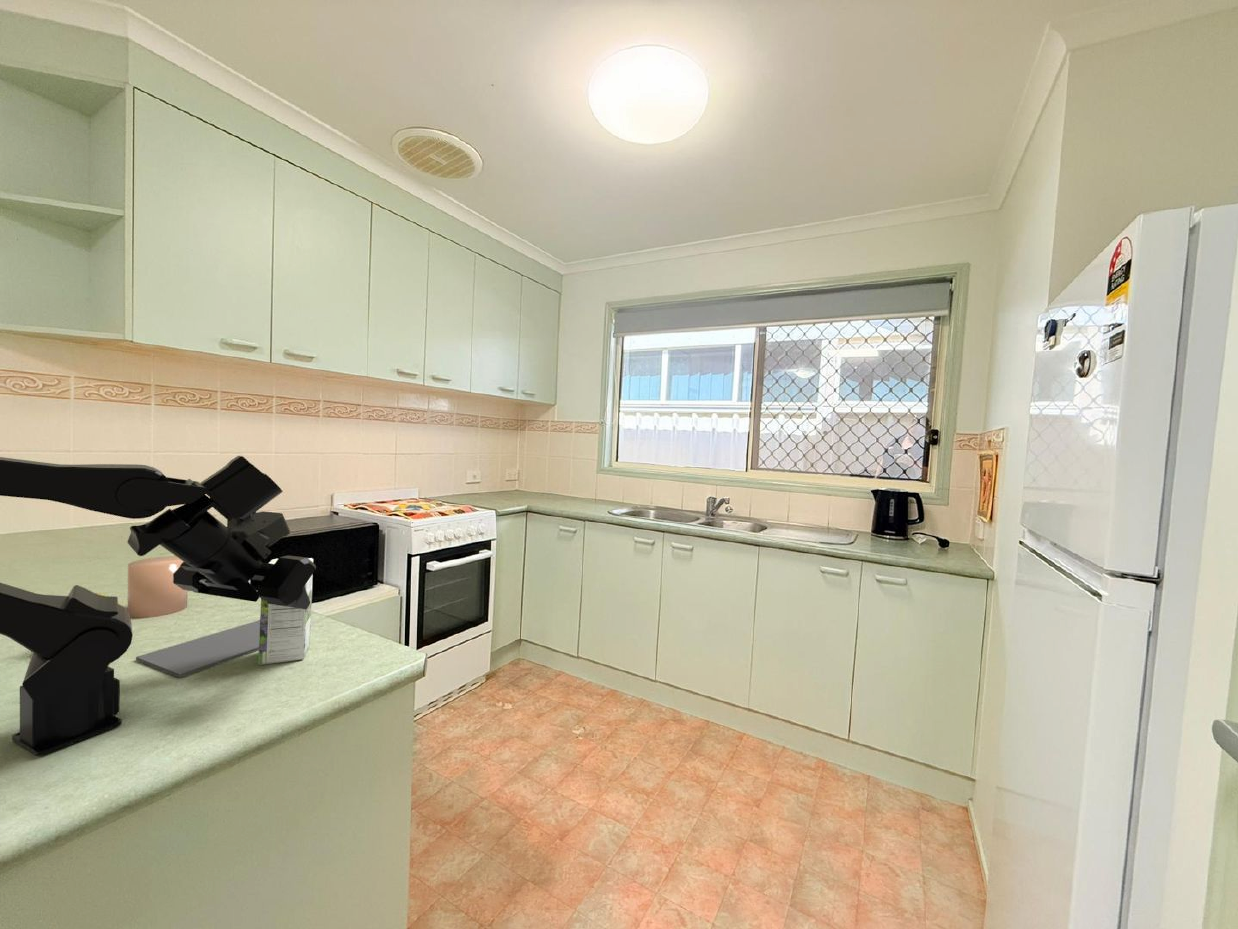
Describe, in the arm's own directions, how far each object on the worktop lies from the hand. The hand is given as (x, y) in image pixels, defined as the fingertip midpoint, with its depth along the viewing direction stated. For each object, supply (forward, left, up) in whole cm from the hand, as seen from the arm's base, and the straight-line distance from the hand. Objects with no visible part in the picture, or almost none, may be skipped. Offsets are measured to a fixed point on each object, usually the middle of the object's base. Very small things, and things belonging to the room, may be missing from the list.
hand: (282, 602), depth 73 cm
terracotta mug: (+2, +37, -9) cm, 38 cm away
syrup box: (+1, 0, -9) cm, 9 cm away
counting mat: (-1, +11, -8) cm, 14 cm away
